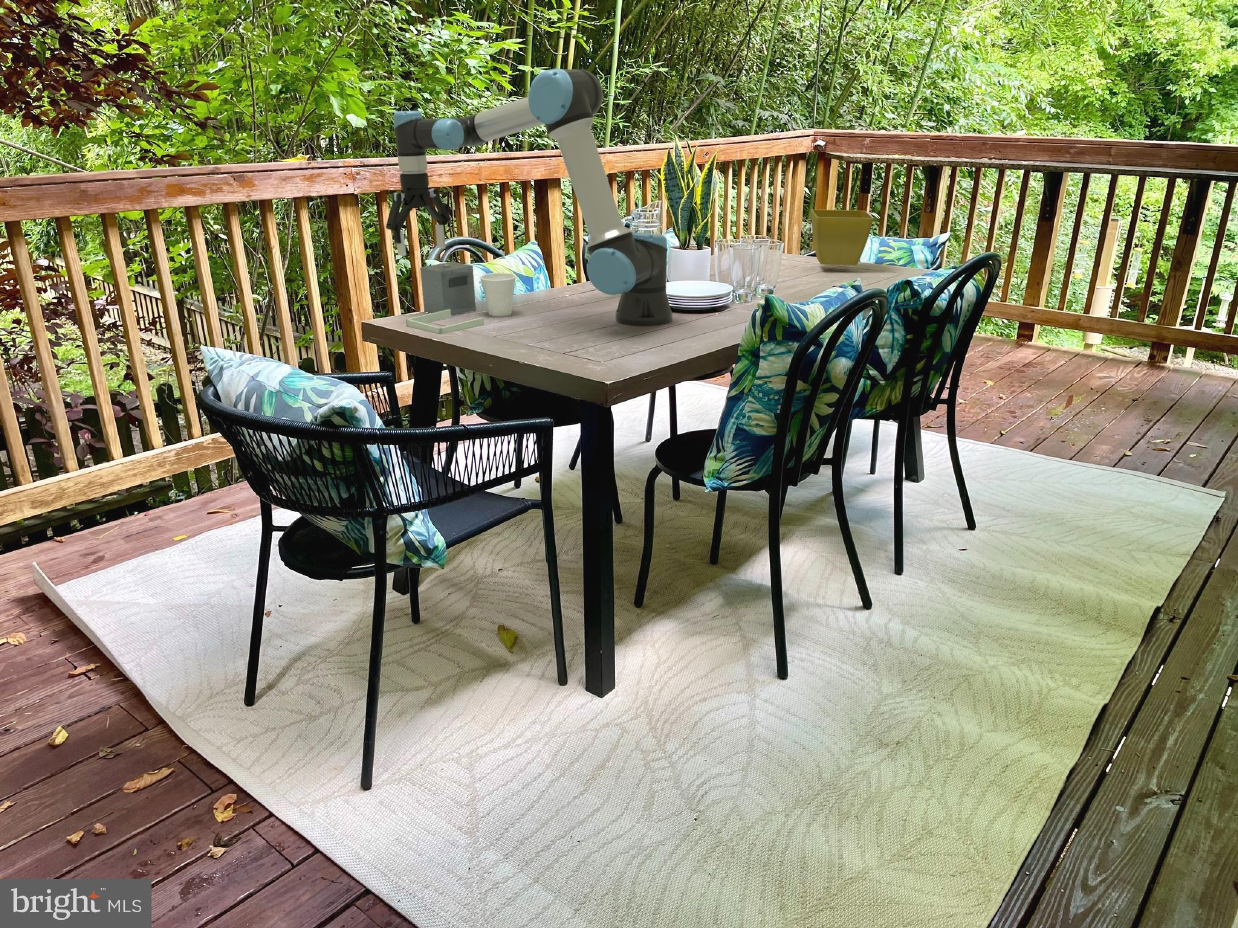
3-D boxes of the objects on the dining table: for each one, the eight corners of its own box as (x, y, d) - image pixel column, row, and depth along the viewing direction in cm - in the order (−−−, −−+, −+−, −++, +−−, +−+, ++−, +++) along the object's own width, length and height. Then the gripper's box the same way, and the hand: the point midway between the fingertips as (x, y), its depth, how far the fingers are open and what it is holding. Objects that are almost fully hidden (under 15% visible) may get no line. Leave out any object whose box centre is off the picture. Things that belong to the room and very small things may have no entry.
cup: (515, 320, 242) (513, 280, 237) (479, 320, 242) (476, 280, 237) (520, 311, 251) (518, 272, 246) (485, 311, 251) (482, 272, 247)
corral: (484, 329, 234) (483, 317, 233) (441, 340, 224) (440, 328, 223) (449, 320, 242) (449, 309, 241) (407, 330, 233) (405, 319, 231)
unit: (476, 312, 250) (473, 263, 245) (445, 319, 243) (441, 269, 237) (454, 307, 256) (451, 259, 251) (423, 314, 249) (419, 265, 243)
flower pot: (860, 257, 323) (865, 209, 316) (868, 268, 305) (874, 217, 299) (807, 256, 325) (810, 209, 318) (812, 267, 307) (816, 217, 300)
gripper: (441, 168, 252) (448, 244, 260) (366, 175, 235) (376, 257, 243) (458, 169, 247) (465, 246, 256) (382, 177, 230) (393, 259, 239)
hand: (422, 251), depth 250 cm, fingers open, 13 cm apart
